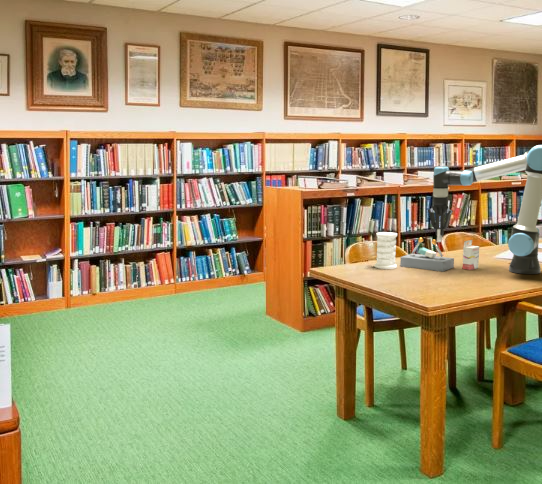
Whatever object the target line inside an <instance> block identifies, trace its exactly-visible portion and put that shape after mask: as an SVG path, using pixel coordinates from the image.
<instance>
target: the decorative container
mask: <svg viewBox="0 0 542 484" xmlns="http://www.w3.org/2000/svg"><path fill="white" fill-rule="evenodd" d="M375 236H376V237H377V238H376V239H377V240H376V243H377V245H376V263H374V268H375V269H380V270H394V269H397V268H398V265H397V264H396V260H397V259H396V254H397V252H396V250H397V246H396V245H397V239H396V238H397V237H398V233H397V232H387V231H382V232H376V234H375Z"/></svg>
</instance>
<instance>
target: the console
mask: <svg viewBox="0 0 542 484" xmlns="http://www.w3.org/2000/svg"><path fill="white" fill-rule="evenodd" d="M454 264H455V258H454V257H447V256H446V257H445V256H442V257H441V256H438V255H436V257H434V258H430V257H427V256H425V255H422V254H420V253H414V254H413V253H409V254H406V255H403V256H400V263H399V266H400V267H404V268H411V269H419V270H420V269H421V270H428V271H436V272H446V271H448V270H451V269H453V268H454V266H455V265H454Z"/></svg>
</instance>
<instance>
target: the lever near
mask: <svg viewBox="0 0 542 484" xmlns="http://www.w3.org/2000/svg"><path fill="white" fill-rule="evenodd" d="M437 243H438V242H437V239H432V240H431V244H432V245H434V246H435V248H436V250H437V253H438V254H439V257H444V255H443V252H442V251H441V249H440V248H439V246H438V244H437Z"/></svg>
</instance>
